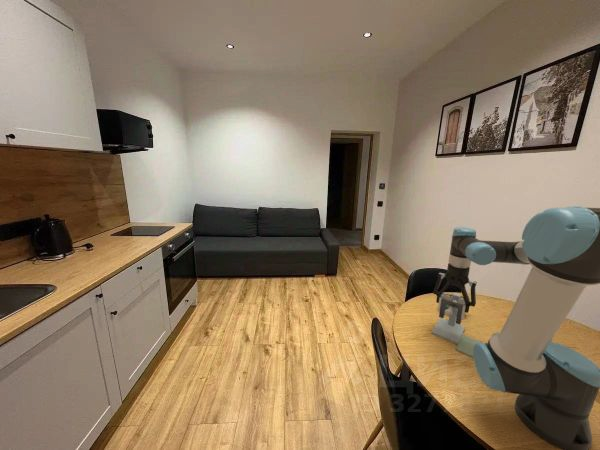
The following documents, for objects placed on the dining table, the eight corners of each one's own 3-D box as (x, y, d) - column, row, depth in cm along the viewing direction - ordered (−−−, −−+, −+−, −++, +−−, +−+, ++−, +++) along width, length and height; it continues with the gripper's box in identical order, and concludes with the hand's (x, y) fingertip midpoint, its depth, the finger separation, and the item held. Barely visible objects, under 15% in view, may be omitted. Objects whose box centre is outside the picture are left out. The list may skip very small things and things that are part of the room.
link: (459, 324, 101) (463, 306, 99) (438, 316, 106) (441, 299, 104) (460, 323, 102) (464, 305, 100) (439, 315, 107) (442, 298, 105)
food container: (441, 316, 118) (444, 297, 116) (438, 309, 124) (441, 291, 121) (470, 321, 114) (474, 302, 112) (466, 313, 120) (470, 295, 118)
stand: (457, 345, 98) (463, 311, 95) (430, 334, 105) (435, 301, 101) (464, 328, 109) (470, 297, 105) (440, 319, 115) (445, 289, 112)
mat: (486, 363, 89) (487, 362, 89) (455, 350, 96) (455, 348, 96) (490, 346, 98) (491, 345, 98) (462, 335, 104) (462, 334, 104)
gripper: (492, 269, 94) (481, 320, 99) (433, 256, 108) (427, 301, 113) (489, 275, 88) (478, 329, 94) (428, 260, 102) (422, 307, 108)
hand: (450, 313), depth 103 cm, fingers closed on link, 8 cm apart
